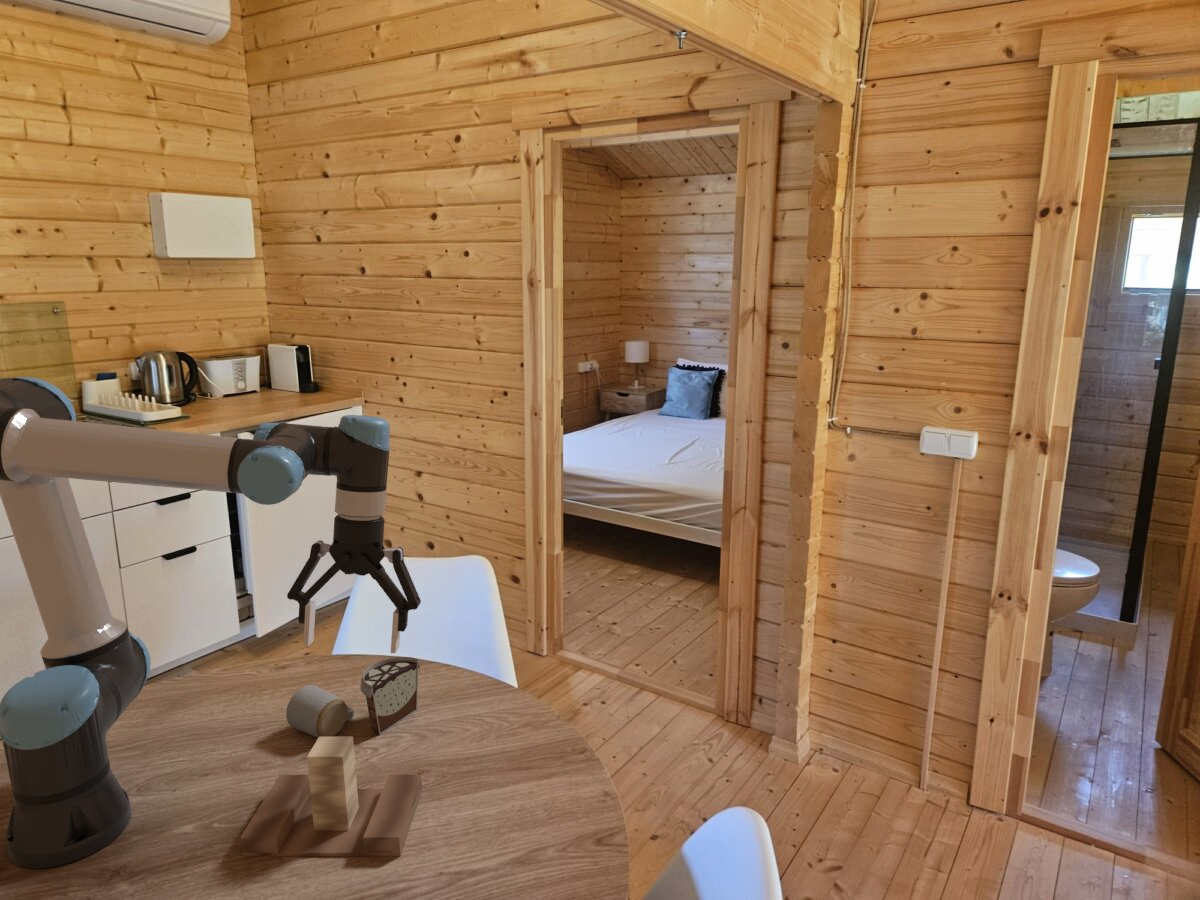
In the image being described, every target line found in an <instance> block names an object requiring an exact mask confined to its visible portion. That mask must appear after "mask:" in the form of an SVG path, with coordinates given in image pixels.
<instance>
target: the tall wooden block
mask: <svg viewBox="0 0 1200 900" xmlns="http://www.w3.org/2000/svg"><path fill="white" fill-rule="evenodd" d="M355 757H356V756H355V745H354V736H333V737H319V738H318V737H317V739H316V741H315V743H314V744H313V746H312V748H311V750H310V751H309V753H308V755H307V756H306V761H307V769H308V770H307V771H308V775H309V782H310V793H311V803H312V813H313V824H314V830H349V828H350V826H351V824H352V822H353V819H354V817H355V815H356V813H357V810H358V808H359V804H358V792H357V789H358V782H357V781H358V780H357V768H356V758H355Z"/></svg>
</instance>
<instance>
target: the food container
mask: <svg viewBox="0 0 1200 900" xmlns="http://www.w3.org/2000/svg"><path fill="white" fill-rule="evenodd" d="M419 669H421V664H420V661H419V658H418V657H417V658H416V657H411V656H395V657H390V658H386V659H381V660H380V661H377V662H374V663H372V664H371V665H369V666H368V667H367V668H366V669H365V670H364V672H363V674H362V676H361V679H360V686H359V687H360V689H359V690H360V692H361V693H362V694H363V695H364V696H365V699H366V706H367V710H368V717H369V722H370V728H371V730H372V732H374V733H375V734H376V735H378V736H381V735H382V734H385V733H386V732H387V731H389V730H390V729H391V728H393V727H395V726H396V725H398V724H399V723H401V722H402V721H404V720H405V719H406V718H408V717H410V716H411V715H412V714H414V713H416V712H417V711H418V693H419V692H418V688H419V686H418V685H419V684H418V683H419Z"/></svg>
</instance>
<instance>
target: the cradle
mask: <svg viewBox="0 0 1200 900" xmlns="http://www.w3.org/2000/svg"><path fill="white" fill-rule="evenodd" d="M422 782H423V780H422V774H388V776H387V779H386V781H385V783H384V785H383V788H357V792H358V804H359V808H358V810H357V813H356V815H355V817H354V819H353V822H352V824H351V826H350V828H349V830H314V824H313V813H312V803H311V793H310V782H309V774H279V775H278V777H277V778H276V780H275V781H274V783H273V785H272V786H271V788H270V789H269V791H268V793H267V794H266V795H265V798H264V799H263V800H262V802H261V803H260V805H259V807H258V809H257V810H256V812H255V814H254V815H253V816H252V818H251V820H250V821H249V823H248V825H247V826H246V828H245V830H244V831H243V832H242V834H241V835H240V846H241V853H242V857H401V856H402V853H403V849H404V846H405V843H406V841H407V839H408V838H407V837H408V835H409V832H410V830H411V826H412V822H413V820H414V816H415V814H416V811H417V808H418V806H419V802H420V800H421V796H422V793H423V783H422Z"/></svg>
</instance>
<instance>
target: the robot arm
mask: <svg viewBox="0 0 1200 900" xmlns="http://www.w3.org/2000/svg"><path fill="white" fill-rule="evenodd" d="M339 421H340V422H339V423H338V426H322V425H311V424H310V425H309V424H298V423H297V424H296V423H287V422H285V421H280V422H262V423H260V424H259V425H258V426H257V427H256V429H255V432H254V434H253V437H252V439H248V438H239V437H230V436H224V435H223V436H222V435H213V434H212V435H211V434H204V433H202V434H201V433H193V432H184V431H183V432H182V431H173V430H164V429H154V428H145V427H135V426H123V425H116V424H115V425H114V424H106V423H105V424H103V423H96V422H86V421H77V415H76V411H75V408H74V405H73V403H72V402H71V400H70V398H69V397H68V396H67V395H66V393H64V392H63V391H62V390H61V389H60V388H59V387H58V386H56V385H53V384H52V383H51V382H48V381H47V380H44V379H41V378H37V377H31V376H15V377H3V378H0V500H1V503H2V505H3V508H4V511H5V514H6V516H7V519H8V520H7V521H8V523H9V525H10V529H11V532H12V535H13V537H14V540H15V543H16V545H17V549H18V552H19V555H20V558H21V561H22V564H23V567H24V569H25V574H26V576H27V579H28V581H29V584H30V588H31V590H32V593H33V597H34V599H35V603H36V606H37V607H38V612H39V614H40V617H41V620H42V624H43V627H44V629H45V632H46V635H47V640H46V641H45V643H44V644H43V646H42V647H41V649H40V655H41V659H42V662H43V664H44V668H45V669H43V670H40V671H37V672H35V673H34V675H32V676H26V677H25V678H23V679H21V680H20V681H18V682H17V683H15V684H14V685H13V686H12V687H11V688H10V689H8V690H7V692H6V693H5V694H4V695H3V697H2V699H1V701H0V738H1V740H2V742H1V743H2V746H3V751H4V755H5V761H6V765H7V771H8V775H9V781H10V786H11V791H12V796H13V803H12V807H11V811H10V816H9V821H8V826H7V828H6V829H7V830H6V835H5V845H6V849H7V855H8V858H9V860H10V861H11V862H12V863H13V864H15V865H16V866H19V867H22V868H26V869H27V868H28V869H47V868H54V867H59V866H62V865H66V864H70V863H73V862H76V861H78V860H81V859H83V858H86V857H88V856H91V855H92V854H94V853H96V852H98V851H100V850H101V849H103V848H105V847H106V846H107V845H109V844H110V843H112V842H113V841H115V839H117V838H118V837H119V836H120V835H121V834H122V833H123V832H124V830H125V829H126V828H127V826H128V825H129V823H130V821H131V818H132V808H131V801H130V797H129V795H128V793H127V792H126V791H125V789H123V788H122V786H121V784H120V782H119V781H118V779H117V777H116V775H115V774H114V773H113V771H112V768H111V764H110V759H109V752H108V745H107V744H108V743H107V739H106V738H107V733H108V732H109V731H110V729H111V728H112V727H113V726H114V725H115V724H116V722H117V721H118V719H119V718H120V717H121V716H122V714H123V713H124V712H125V711H126V709H127V708H128V707H129V705H130V704H132V702H133V701H135V699H136V698H137V697H138V696H139V695H140V693H141V691H142V689H144V686H145V684H146V682H147V680H148V678H149V674H150V672H151V666H152V665H151V656H150V652H149V650H148V647H147V645H146V644H145V643H144V641H142V639H141V638H140V637H138V636H137V637H136V636H134V634H133V633H132V632H130V631H129V629H128V626H127V623H126V622H125V621H124V620H121V619H118V618H116V617H113V615H112V613H111V609H110V607H109V602H108V600H107V597H106V593H105V591H104V590H105V589H104V588H103V584H102V581H101V578H100V575H99V574H100V573H99V571H98V568H97V566H96V565H97V564H96V561H95V559H94V556H93V553H92V550H91V547H90V544H89V541H88V538H87V533H86V531H85V527H84V524H83V521H82V517H81V515H80V512H79V508H78V505H77V502H76V498H75V496H74V493H73V492H74V491H73V489H72V485H71V482H70V481H69V480H70V479H74V480H84V481H94V482H106V483H107V482H108V483H119V484H127V485H128V484H129V485H142V486H150V487H151V486H152V487H163V488H175V489H183V490H184V489H185V490H199V491H209V492H221V493H231V494H240V495H241V494H242V495H244V496H245V497H246V498H247V499H249V500H250V501H252V502H254V503H256V504H258V505H264V506H267V505H268V506H269V505H272V506H273V505H277V504H279V503H282V502H284V501H285V500H287V499H288V498H289V497H291V496H292V495H294V494H295V493H296V492H297V491H298V490H299V488H300V487H301V486H302V483H303V481H304V480H305V479H306V478H307V477H308V475H313V476H326V477H327V476H329V477H331V476H335V477H336V486H335V487H336V489H335V503H334V504H335V505H334V512H335V513H336V514H337V515H336V516H334V519H333V521H334V522H333V536H332V537H333V538H332V539H333V540H332V543H331V544H329V543H324V541H323V540H321V539H319V540H317V541H316V542H314V543H313V544H312V545H311V547H310V553H309V558H308V559H307V561H306V562H305V564H304V565H303V568H302V569H301V571H300V572H299V574H298V576H297V578H296V579H295V581H294V582H293V584H292V585H291V588H290V590H289V591H288V592H287V594H286V597H287V599H289V600H290V601H291V600H293V601H296V602H297V603H298V606H299V607H298V623H299V624H303V625H304V629H303V641H302V642H303V644H302V645H303V647H309V646H310V645H311V644H312V643H313V642H314V639H315V622H316V608H317V607H316V605H317V601H316V600H311V599H312V598H313V597H314V596H315V595H317V593H318V592H319V591H320V590H322V588H323V587H324V586H325V585H326V584H327V583H328V582H329V581H330V580H331V579H332V578H333V577H334V576H335V575H337V573H338V572H340V571H341V572H343V573H344V575H358V576H363V577H364V576H366V575H370V577H371V578H372V579H373V580H375V582H376V583H377V584H378V585H379V587H380V588H381V590H383V592H384V593H385V594H386V596H387V598H388V599H389V600H390V601H391V602H392V604H393V606H395V610H394V611H393V613H392V626H391V627H392V629H391V638H390V639H391V640H390V641H391V643H390V654H396V653H397V651H398V650H399V648H400V640H401V639H400V638H401V632H405V631H406V629H407V626H408V620H409V619H408V618H409V611H412V610H417V609H418V608H419V606H420V605H421V604H422V603H421V602H422V600H421V598H420V595H419V593H418V591H417V589H416V586H415V584H414V581H413V579H412V577H411V574H410V572H409V570H408V568H407V564H406V562H405V561H404V560H405V559H404V557H405V556H404V548H403V547H401V546H398V547H396V548H390V549H389V548H387V549H386V548H385V546H384V538H385V537H384V534H385V533H384V532H385V521H386V520H385V518H384V517H383V515H384V514H385V513H386V504H387V503H386V502H387V491H388V490H387V488H388V487H387V484H388V473H389V461H390V460H389V459H390V451H391V450H390V449H391V446H390V434H391V432H390V429H391V428H390V424H389V422H388V420H386V419H385V418H383V417H378V416H373V415H361V414H360V415H359V414H358V415H357V414H347V415H346V414H345V415H343V416H341V417H340V420H339ZM327 553H329V554H330V556H331V558H332V559H333V561H334V563H333V564H332V565H331V566H330V567H329V568H328V569H327V571H325V572H324V573H323V574H322V575H321V577H319V579H317V580H316V581H315V582H314V583H313V584H312V585H311V586H310V587H309V588H308V589H307V590H306V591H305V592H304V591H302V590H303V589H304V587H305V585H306V583H307V582H308V580H310V577H311V576H312V574H313V573H314V570H315V569H316V567H317V565H318V564H319V562H320V560H321V558H324V557H325V556H326V555H327ZM384 558H387V560H388V562H389V563H390V564H392V567H393V570H394V573H395V575H396V577H397V579H398V582H399V584H400V586H401V589H402V591H403V593H402V591H401V590H400V589H399V587H398V586H397V585H396V584H395V583H394V581H393V579H391V577H390V576H389V574H388V572H386V568H384V566H383V565H382V563H381V562H382V560H383V559H384ZM403 594H404V595H403Z"/></svg>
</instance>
